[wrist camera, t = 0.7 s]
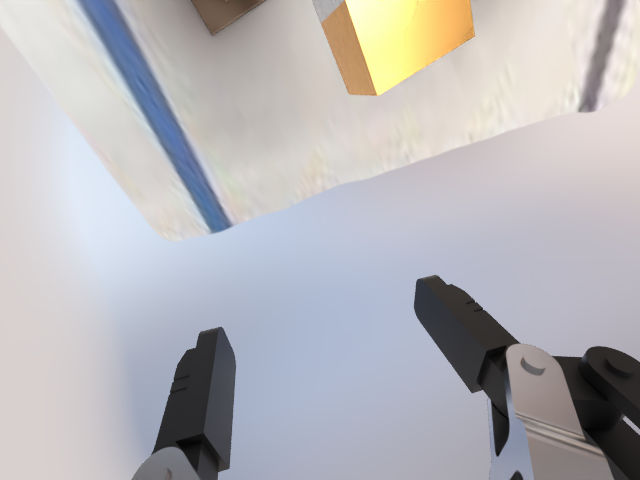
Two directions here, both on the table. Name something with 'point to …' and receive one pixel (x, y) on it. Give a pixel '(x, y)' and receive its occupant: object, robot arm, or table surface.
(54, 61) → the table surface
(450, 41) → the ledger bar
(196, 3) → the tall stand
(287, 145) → the table surface
